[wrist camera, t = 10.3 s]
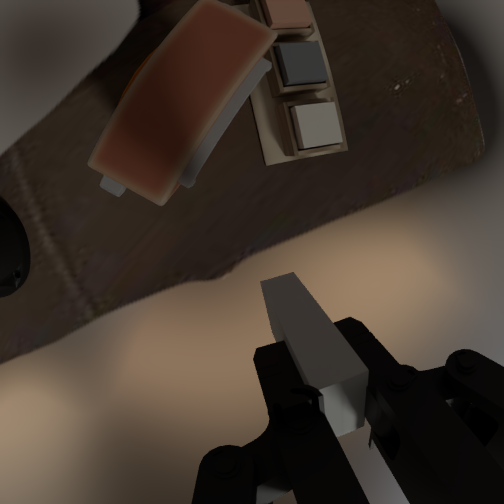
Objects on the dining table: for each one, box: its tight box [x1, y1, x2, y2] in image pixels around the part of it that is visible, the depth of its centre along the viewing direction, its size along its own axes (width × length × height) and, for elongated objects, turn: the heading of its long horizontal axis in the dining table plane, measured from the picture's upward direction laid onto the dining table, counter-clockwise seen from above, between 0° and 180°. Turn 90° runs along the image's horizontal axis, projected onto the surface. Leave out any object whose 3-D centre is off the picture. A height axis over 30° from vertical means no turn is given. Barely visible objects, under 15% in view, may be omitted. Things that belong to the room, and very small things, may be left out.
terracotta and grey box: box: [88, 0, 278, 206], centre depth 23 cm, size 21×7×15 cm
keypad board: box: [232, 0, 348, 166], centre depth 31 cm, size 12×24×4 cm, turn 13°
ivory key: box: [289, 102, 343, 149], centre depth 32 cm, size 5×5×4 cm
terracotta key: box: [259, 0, 312, 30], centre depth 26 cm, size 5×5×4 cm
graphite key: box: [274, 42, 329, 87], centre depth 29 cm, size 5×5×4 cm
